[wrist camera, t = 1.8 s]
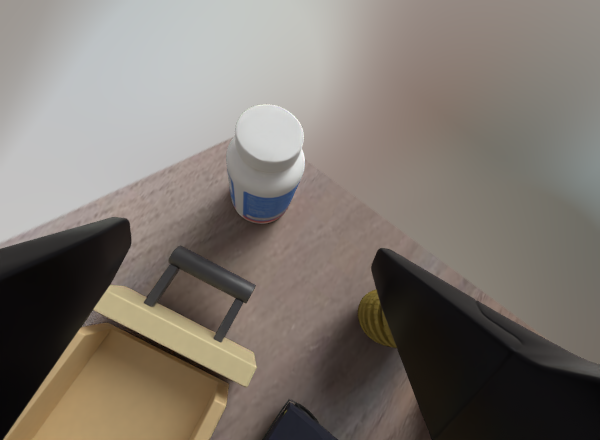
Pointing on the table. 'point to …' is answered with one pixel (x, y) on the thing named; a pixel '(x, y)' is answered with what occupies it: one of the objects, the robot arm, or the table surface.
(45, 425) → the drawer
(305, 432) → the toy car
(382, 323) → the sculpture
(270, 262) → the table surface
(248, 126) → the pill bottle
